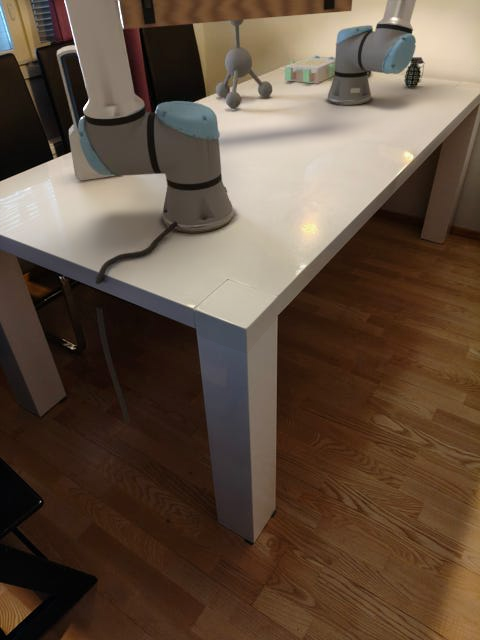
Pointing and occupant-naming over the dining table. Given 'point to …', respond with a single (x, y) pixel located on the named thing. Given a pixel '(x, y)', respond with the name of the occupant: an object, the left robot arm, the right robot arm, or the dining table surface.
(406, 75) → the grenade
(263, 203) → the dining table surface
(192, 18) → the long wooden beam
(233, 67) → the molecular model
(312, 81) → the decorative block
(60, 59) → the electronic device
